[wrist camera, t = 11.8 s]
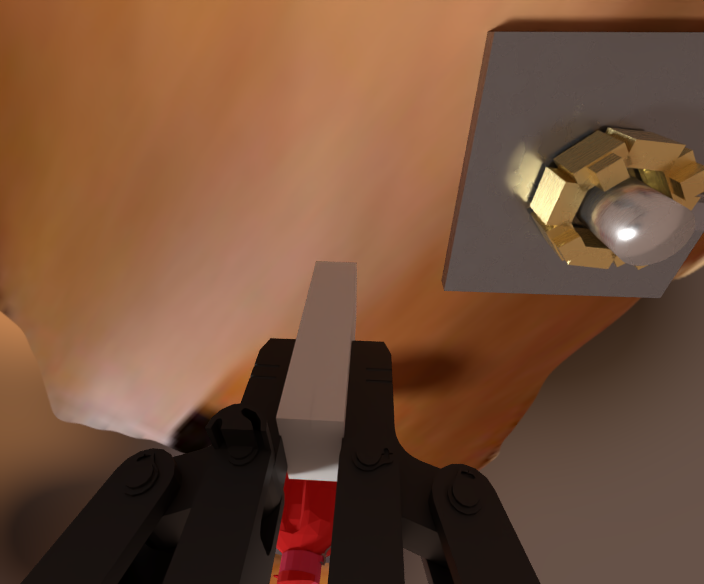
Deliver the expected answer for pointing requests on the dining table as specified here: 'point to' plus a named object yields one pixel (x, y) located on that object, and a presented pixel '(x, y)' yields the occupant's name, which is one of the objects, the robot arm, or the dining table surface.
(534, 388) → the dining table surface
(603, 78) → the housing
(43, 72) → the dining table surface
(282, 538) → the water bottle
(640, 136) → the ring nut
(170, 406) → the dining table surface
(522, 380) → the dining table surface
